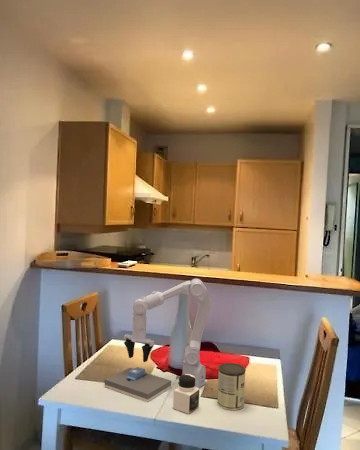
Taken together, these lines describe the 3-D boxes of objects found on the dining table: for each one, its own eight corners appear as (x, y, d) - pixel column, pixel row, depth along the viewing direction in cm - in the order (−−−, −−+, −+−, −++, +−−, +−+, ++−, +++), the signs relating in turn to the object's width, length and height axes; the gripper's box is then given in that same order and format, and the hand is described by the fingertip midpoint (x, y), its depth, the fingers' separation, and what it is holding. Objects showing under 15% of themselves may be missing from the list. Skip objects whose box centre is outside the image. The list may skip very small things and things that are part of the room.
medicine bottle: (189, 414, 148) (190, 381, 148) (172, 408, 152) (174, 376, 151) (199, 407, 154) (200, 375, 154) (182, 401, 158) (184, 370, 157)
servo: (147, 378, 176) (147, 367, 175) (132, 385, 167) (133, 374, 167) (139, 376, 178) (140, 365, 178) (125, 383, 170) (125, 372, 169)
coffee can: (218, 396, 164) (220, 361, 163) (244, 400, 161) (246, 364, 161) (215, 408, 154) (216, 371, 153) (242, 412, 151) (244, 374, 151)
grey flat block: (171, 387, 170) (171, 380, 170) (147, 402, 156) (148, 394, 156) (129, 374, 181) (129, 367, 181) (104, 386, 168) (104, 379, 168)
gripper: (119, 326, 174) (118, 358, 175) (147, 333, 167) (146, 366, 167) (130, 323, 180) (129, 353, 181) (157, 329, 173) (156, 361, 173)
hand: (138, 359), depth 174 cm, fingers open, 7 cm apart
